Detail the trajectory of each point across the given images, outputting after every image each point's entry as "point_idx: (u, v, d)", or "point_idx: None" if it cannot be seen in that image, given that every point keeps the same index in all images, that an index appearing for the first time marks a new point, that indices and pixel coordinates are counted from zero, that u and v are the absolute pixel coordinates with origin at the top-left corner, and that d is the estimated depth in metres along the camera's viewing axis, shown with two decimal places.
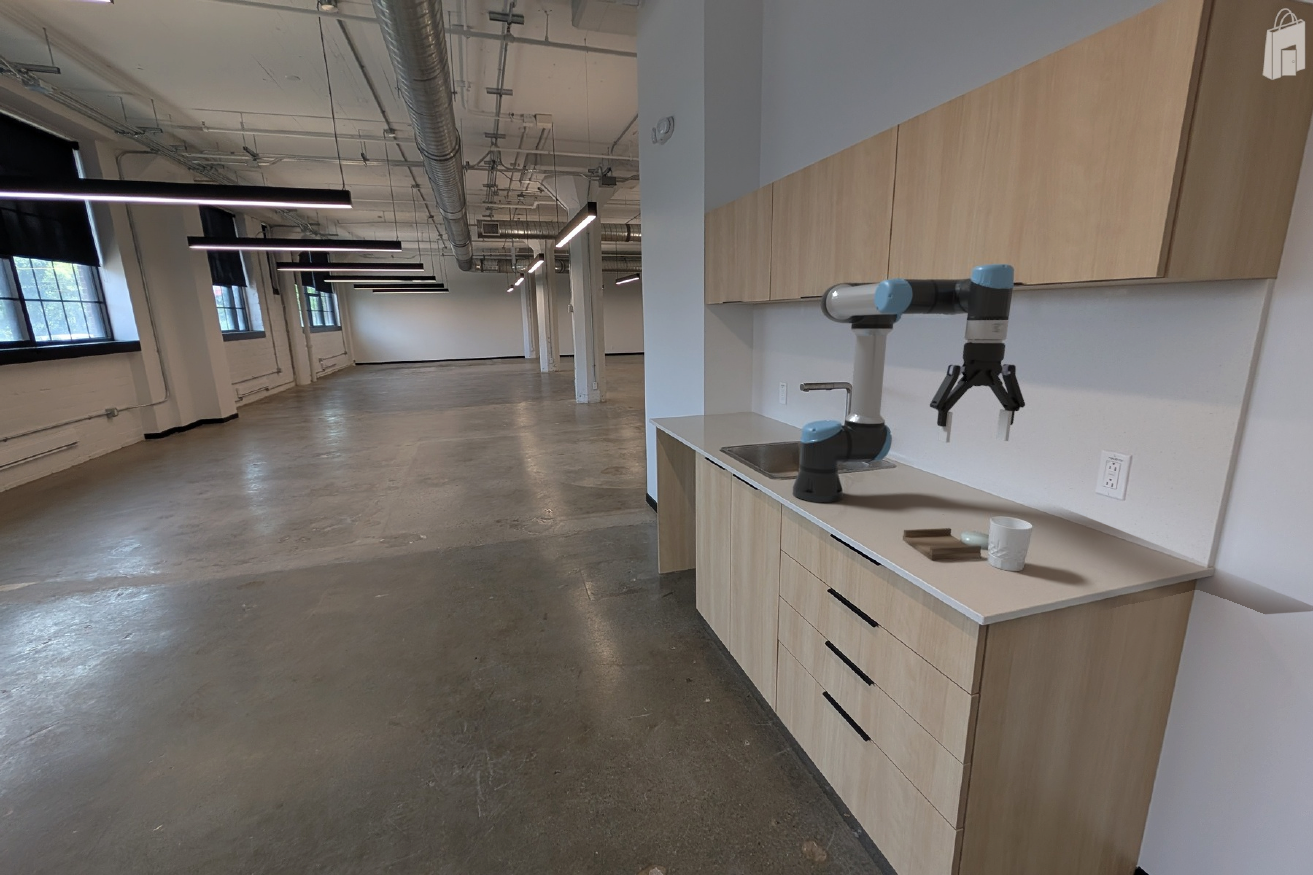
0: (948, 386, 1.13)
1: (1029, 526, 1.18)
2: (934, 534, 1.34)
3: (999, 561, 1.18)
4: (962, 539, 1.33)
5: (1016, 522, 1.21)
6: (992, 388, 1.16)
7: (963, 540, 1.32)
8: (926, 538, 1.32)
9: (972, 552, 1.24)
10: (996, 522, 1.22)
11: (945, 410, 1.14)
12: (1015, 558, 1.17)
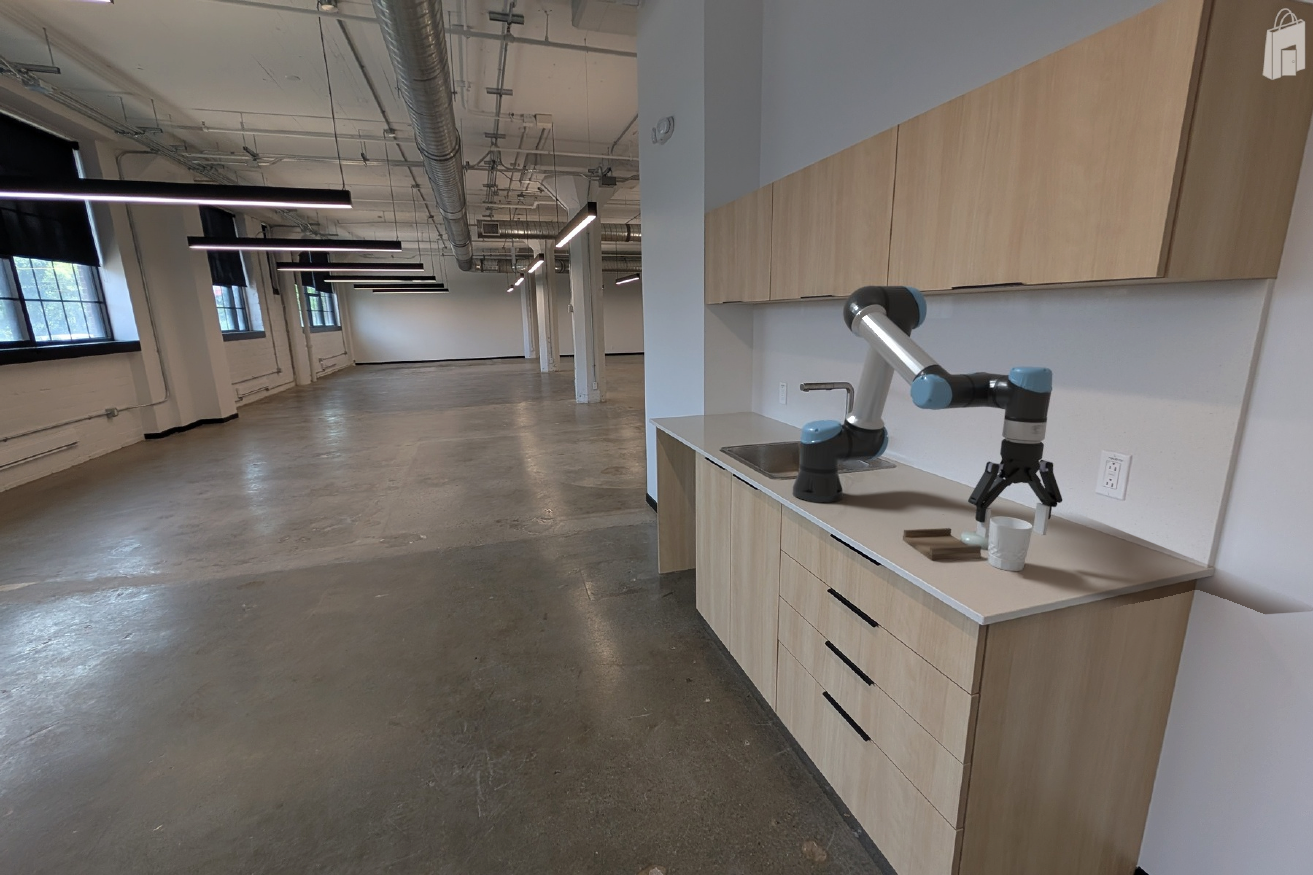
0: (987, 484, 1.15)
1: (1029, 526, 1.18)
2: (934, 534, 1.34)
3: (999, 561, 1.18)
4: (962, 539, 1.33)
5: (1016, 522, 1.21)
6: (1029, 483, 1.18)
7: (963, 540, 1.32)
8: (926, 538, 1.32)
9: (972, 552, 1.24)
10: (996, 522, 1.22)
11: (984, 507, 1.16)
12: (1015, 558, 1.17)
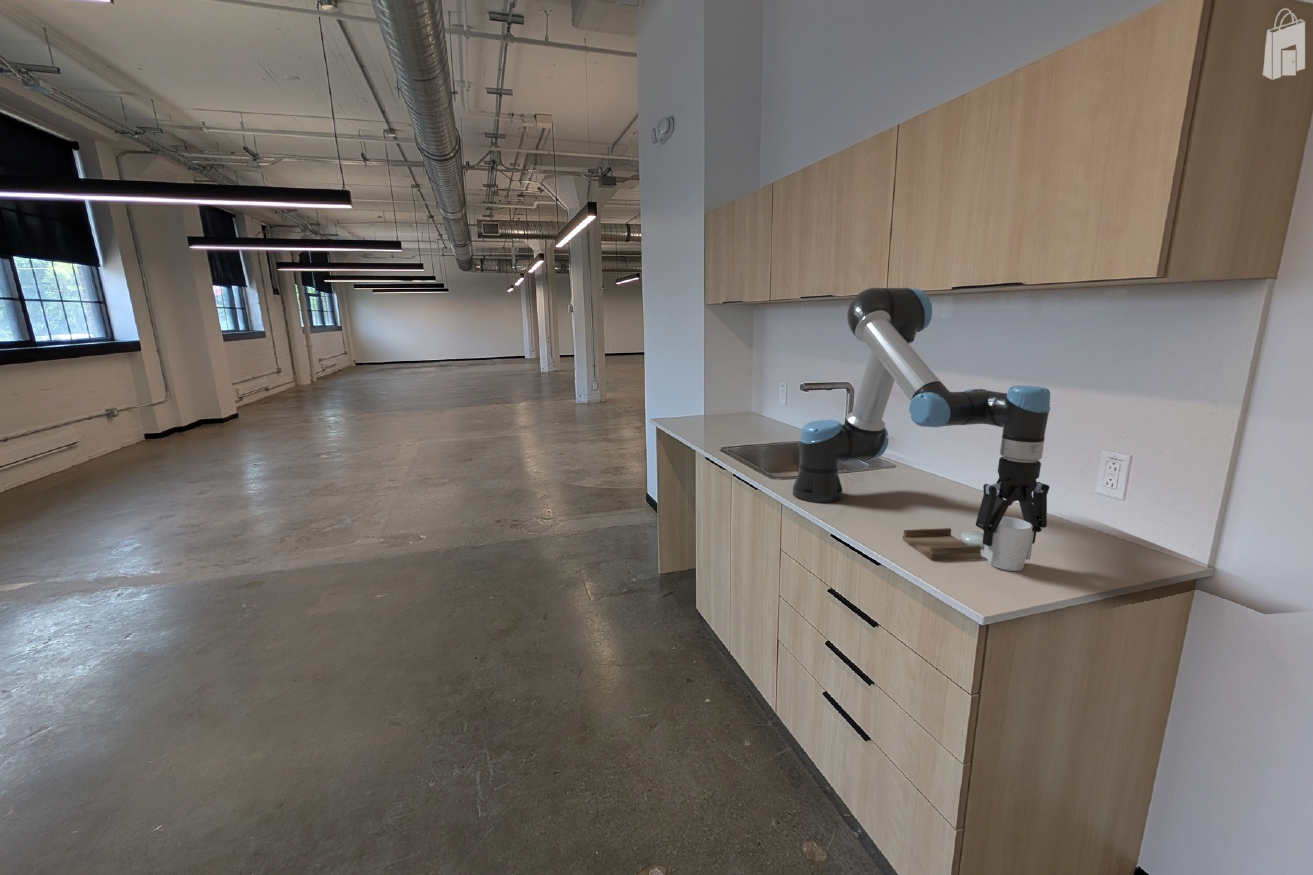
0: (989, 507, 1.16)
1: (1029, 526, 1.18)
2: (934, 534, 1.34)
3: (999, 561, 1.18)
4: (962, 539, 1.33)
5: (1016, 522, 1.21)
6: (1021, 503, 1.19)
7: (963, 540, 1.32)
8: (926, 538, 1.32)
9: (972, 552, 1.24)
10: None
11: (992, 531, 1.17)
12: (1015, 558, 1.17)
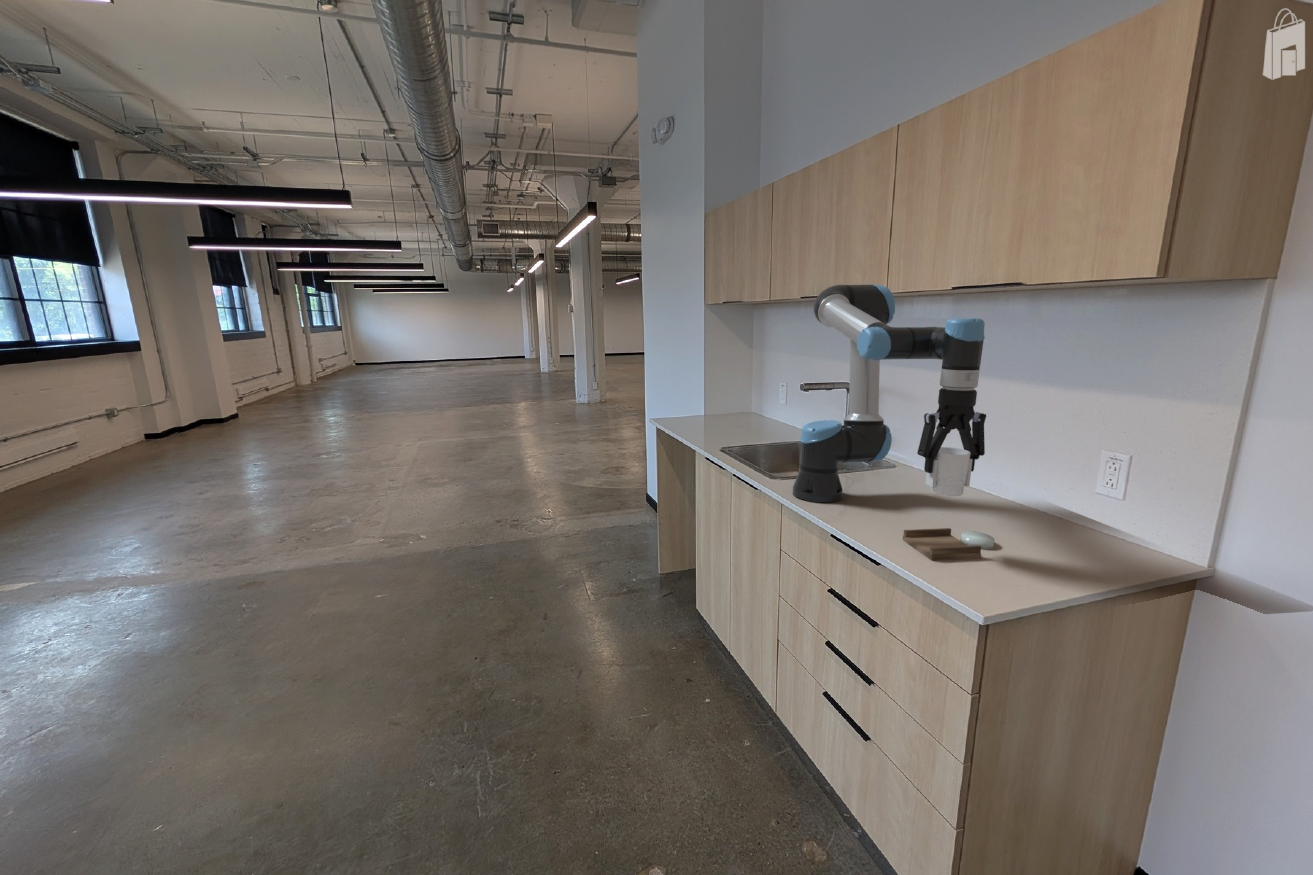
0: (929, 435, 1.22)
1: (968, 454, 1.24)
2: (934, 534, 1.34)
3: (939, 488, 1.24)
4: (962, 539, 1.33)
5: (957, 452, 1.27)
6: (960, 433, 1.25)
7: (963, 540, 1.32)
8: (926, 538, 1.32)
9: (972, 552, 1.24)
10: None
11: (932, 458, 1.23)
12: (954, 483, 1.23)
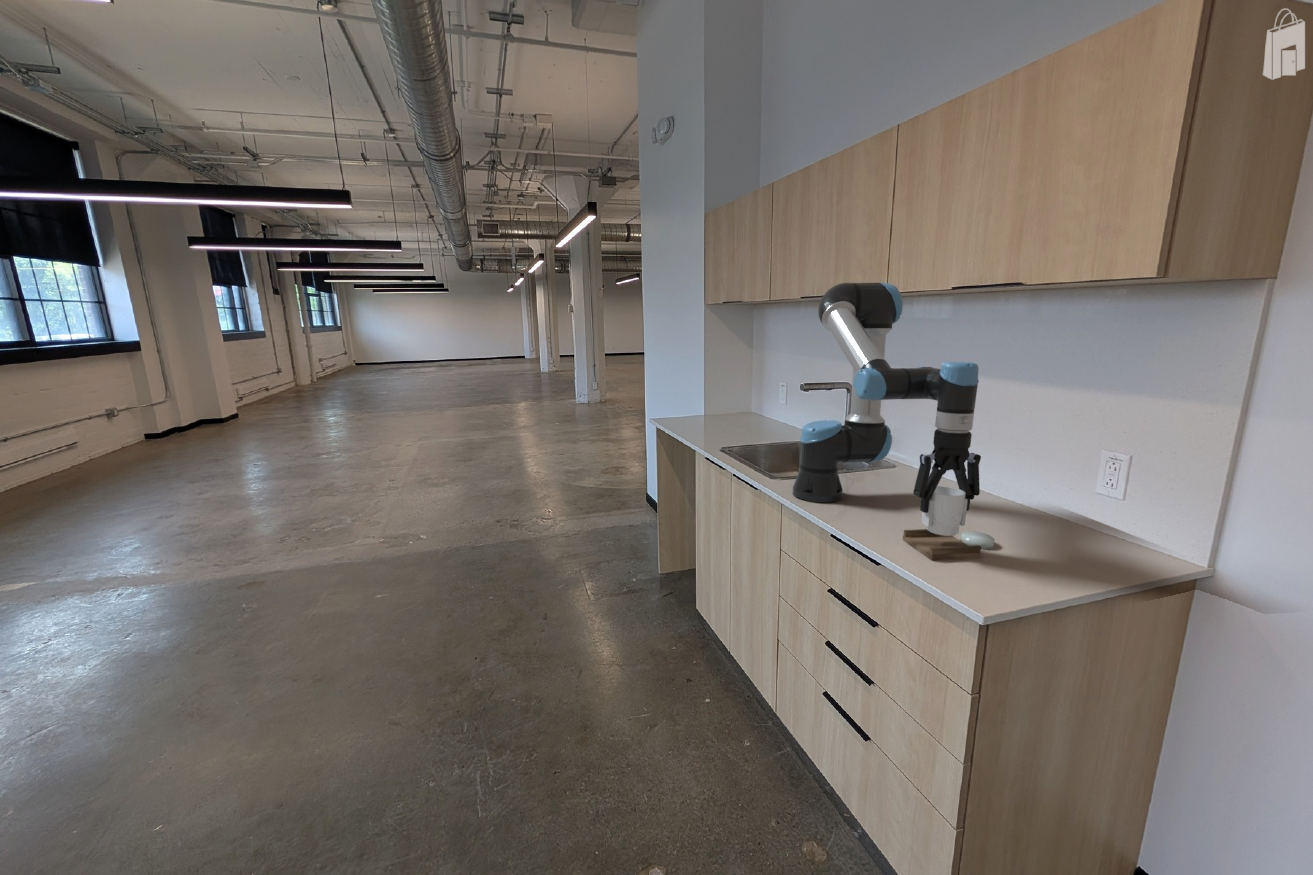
0: (924, 476, 1.24)
1: (963, 494, 1.26)
2: (934, 534, 1.34)
3: (935, 527, 1.26)
4: (962, 539, 1.33)
5: (952, 491, 1.29)
6: (956, 473, 1.26)
7: (963, 540, 1.32)
8: (926, 538, 1.32)
9: (972, 552, 1.24)
10: (934, 491, 1.30)
11: (927, 499, 1.25)
12: (949, 523, 1.24)
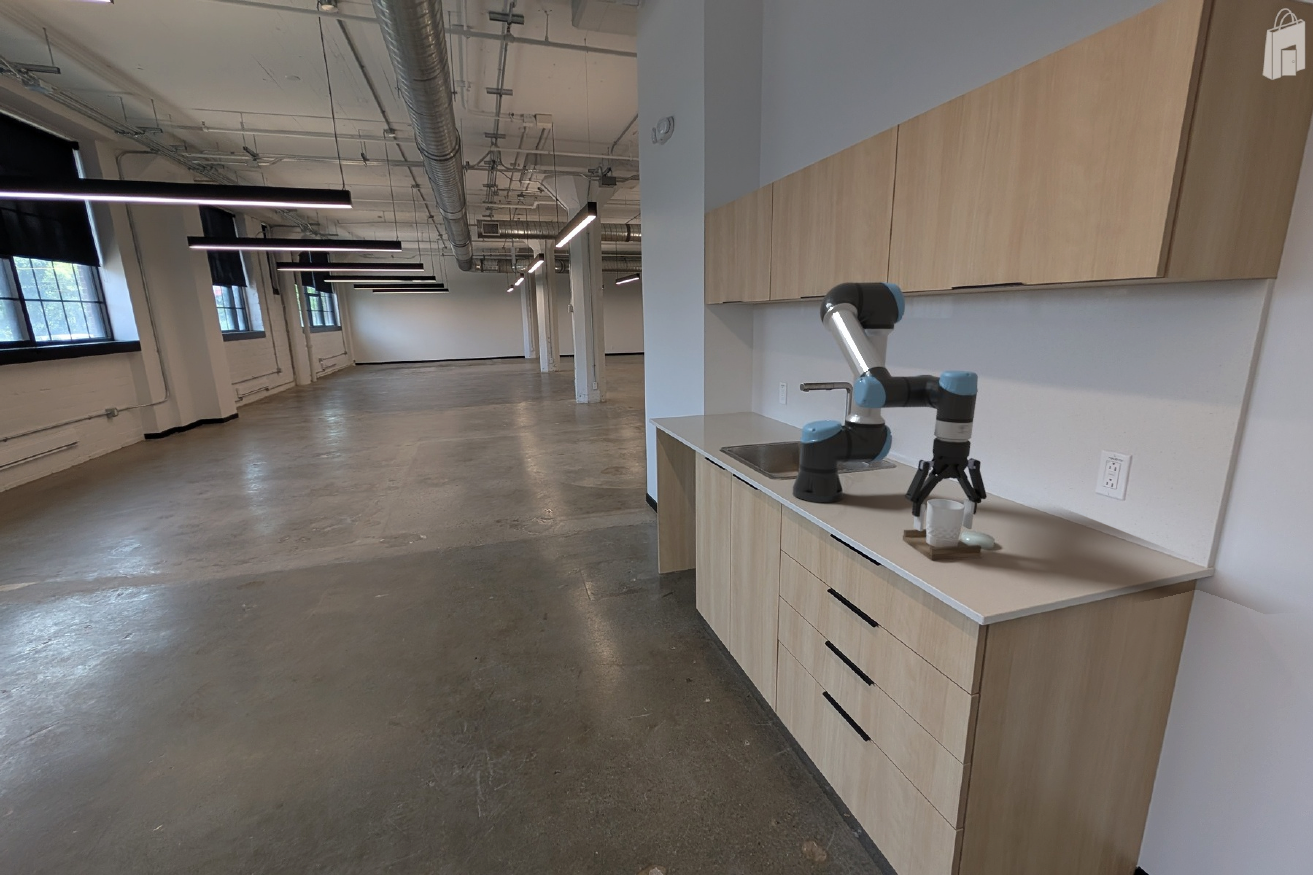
0: (920, 481, 1.24)
1: (962, 507, 1.26)
2: None
3: (934, 540, 1.27)
4: (962, 539, 1.33)
5: (952, 504, 1.30)
6: (958, 480, 1.27)
7: (963, 540, 1.32)
8: None
9: (972, 552, 1.24)
10: (934, 504, 1.31)
11: (919, 503, 1.25)
12: (948, 537, 1.25)
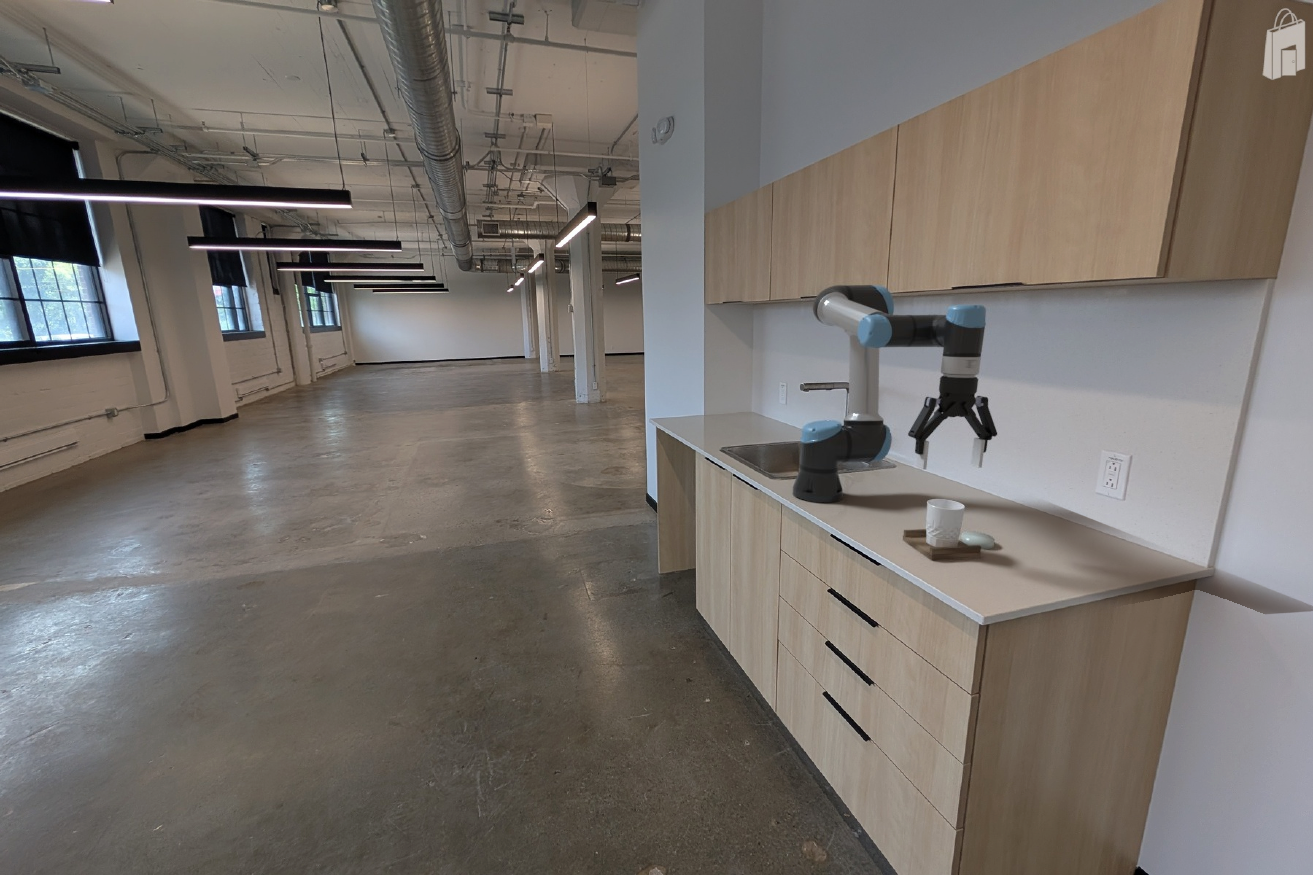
0: (925, 417, 1.21)
1: (962, 507, 1.26)
2: None
3: (934, 540, 1.27)
4: (962, 539, 1.33)
5: (952, 504, 1.30)
6: (966, 418, 1.24)
7: (963, 540, 1.32)
8: None
9: (972, 552, 1.24)
10: (934, 504, 1.31)
11: (922, 439, 1.22)
12: (948, 537, 1.25)
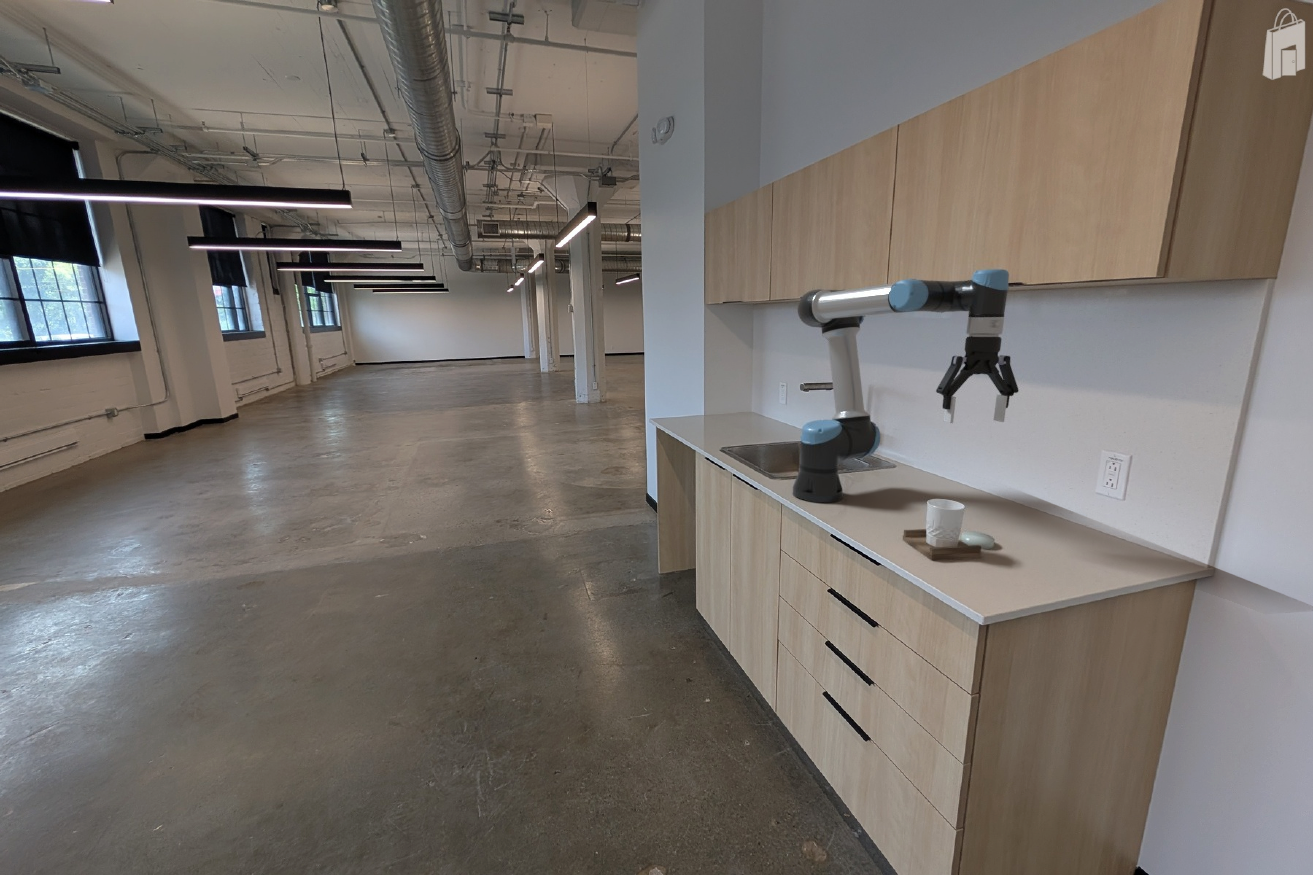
0: (952, 374, 1.31)
1: (962, 507, 1.26)
2: None
3: (934, 540, 1.27)
4: (962, 539, 1.33)
5: (952, 504, 1.30)
6: (990, 376, 1.34)
7: (963, 540, 1.32)
8: None
9: (972, 552, 1.24)
10: (934, 504, 1.31)
11: (949, 395, 1.32)
12: (948, 537, 1.25)
